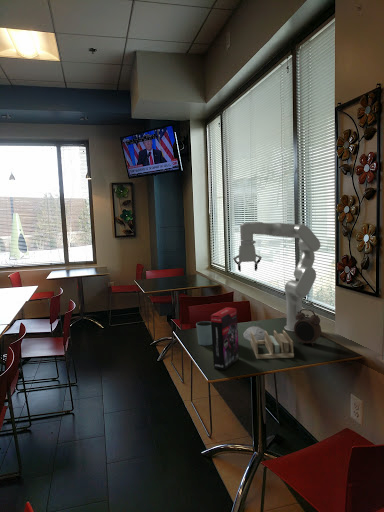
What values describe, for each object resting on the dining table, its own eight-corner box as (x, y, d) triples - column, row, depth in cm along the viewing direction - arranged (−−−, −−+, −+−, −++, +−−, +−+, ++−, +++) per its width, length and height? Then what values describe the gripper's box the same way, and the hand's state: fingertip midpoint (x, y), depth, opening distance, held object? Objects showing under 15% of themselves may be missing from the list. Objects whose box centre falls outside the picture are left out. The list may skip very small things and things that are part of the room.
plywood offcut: (282, 345, 208) (282, 333, 208) (288, 355, 194) (288, 342, 193) (278, 345, 209) (277, 333, 208) (284, 355, 194) (283, 342, 193)
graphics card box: (224, 371, 177) (222, 316, 174) (212, 368, 180) (209, 314, 178) (239, 359, 191) (237, 308, 188) (227, 356, 195) (225, 306, 192)
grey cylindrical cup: (204, 347, 211) (204, 326, 209) (193, 343, 218) (192, 323, 217) (217, 342, 217) (216, 323, 216) (205, 339, 225) (204, 319, 224)
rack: (283, 342, 212) (283, 329, 211) (293, 357, 190) (293, 342, 189) (250, 344, 212) (250, 330, 211) (256, 358, 190) (256, 343, 190)
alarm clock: (292, 343, 211) (292, 309, 209) (298, 339, 216) (297, 306, 214) (316, 348, 201) (316, 312, 199) (322, 344, 206) (322, 309, 204)
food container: (260, 329, 239) (258, 319, 238) (277, 343, 215) (276, 332, 214) (237, 334, 236) (236, 324, 234) (253, 349, 212) (252, 338, 210)
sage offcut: (272, 345, 209) (272, 335, 209) (279, 356, 193) (279, 345, 193) (268, 345, 209) (267, 335, 208) (275, 356, 193) (274, 345, 193)
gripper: (260, 242, 227) (260, 269, 229) (232, 243, 227) (233, 270, 229) (262, 243, 219) (263, 271, 221) (233, 244, 220) (234, 272, 221)
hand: (247, 270), depth 225 cm, fingers open, 9 cm apart
